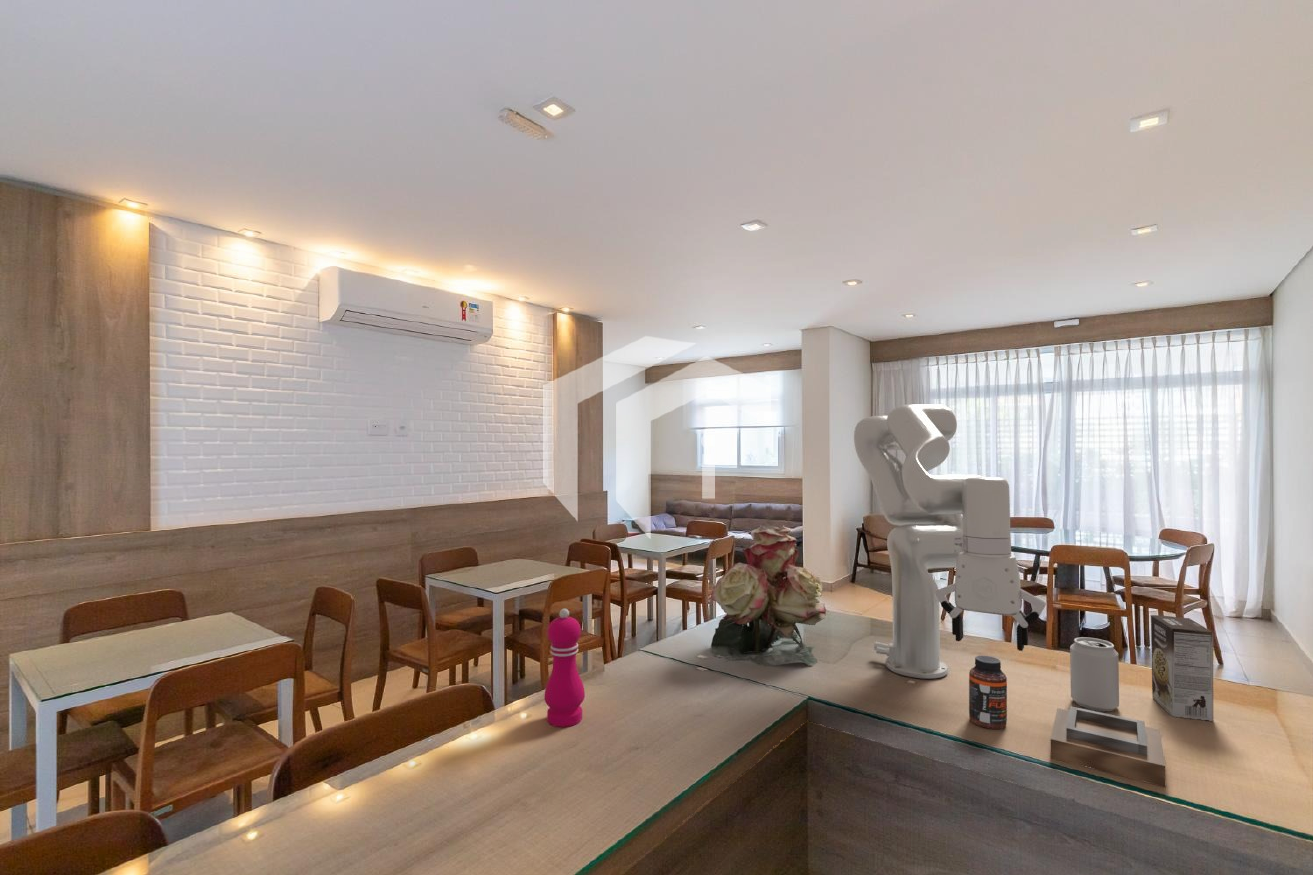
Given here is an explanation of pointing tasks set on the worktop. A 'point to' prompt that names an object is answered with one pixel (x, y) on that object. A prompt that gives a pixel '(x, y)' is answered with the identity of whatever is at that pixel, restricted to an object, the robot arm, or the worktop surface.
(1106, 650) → the can
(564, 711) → the pepper mill
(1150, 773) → the display pedestal
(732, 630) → the rose bouquet
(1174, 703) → the coffee box
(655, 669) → the worktop surface
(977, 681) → the supplement bottle
